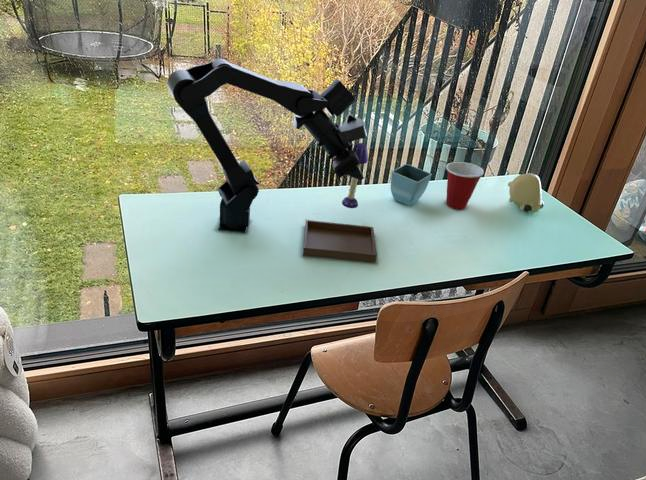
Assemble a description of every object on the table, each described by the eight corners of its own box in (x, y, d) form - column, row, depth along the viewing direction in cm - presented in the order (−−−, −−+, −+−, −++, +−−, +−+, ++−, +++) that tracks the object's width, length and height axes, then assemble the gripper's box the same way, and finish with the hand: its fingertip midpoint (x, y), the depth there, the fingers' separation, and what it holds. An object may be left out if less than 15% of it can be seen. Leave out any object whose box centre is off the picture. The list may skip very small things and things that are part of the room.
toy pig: (507, 218, 173) (531, 211, 163) (498, 180, 173) (522, 170, 164) (531, 214, 177) (556, 206, 168) (523, 177, 178) (547, 167, 168)
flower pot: (425, 201, 166) (432, 173, 161) (411, 211, 160) (418, 182, 155) (400, 190, 169) (406, 163, 164) (385, 199, 163) (390, 171, 158)
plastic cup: (448, 192, 173) (457, 156, 167) (479, 206, 169) (490, 169, 162) (430, 203, 166) (439, 165, 159) (462, 217, 161) (473, 179, 154)
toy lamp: (362, 205, 149) (373, 145, 139) (354, 211, 145) (365, 150, 136) (346, 199, 150) (356, 139, 141) (338, 205, 146) (347, 144, 137)
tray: (302, 255, 132) (303, 247, 131) (304, 227, 143) (305, 219, 142) (375, 263, 135) (376, 255, 133) (371, 234, 145) (373, 226, 144)
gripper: (356, 123, 125) (395, 172, 134) (344, 95, 140) (379, 141, 149) (317, 153, 127) (357, 200, 136) (309, 123, 142) (345, 167, 151)
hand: (360, 175), depth 143 cm, fingers closed on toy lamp, 4 cm apart
